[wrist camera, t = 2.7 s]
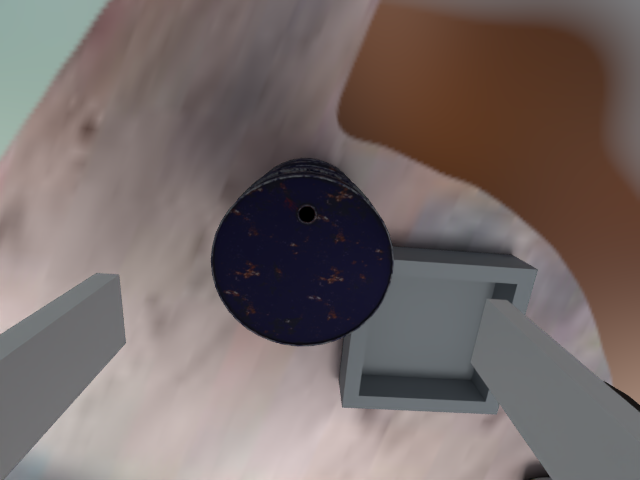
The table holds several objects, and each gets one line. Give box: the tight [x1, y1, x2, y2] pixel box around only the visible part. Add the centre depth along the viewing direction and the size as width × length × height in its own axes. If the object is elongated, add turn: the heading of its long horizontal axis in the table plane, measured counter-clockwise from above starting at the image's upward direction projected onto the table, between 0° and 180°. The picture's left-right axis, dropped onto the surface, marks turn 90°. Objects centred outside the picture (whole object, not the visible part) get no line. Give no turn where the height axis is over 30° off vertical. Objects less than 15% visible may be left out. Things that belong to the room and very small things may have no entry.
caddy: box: [339, 247, 538, 414], centre depth 34 cm, size 16×16×4 cm
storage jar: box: [211, 158, 394, 346], centre depth 25 cm, size 10×10×15 cm
